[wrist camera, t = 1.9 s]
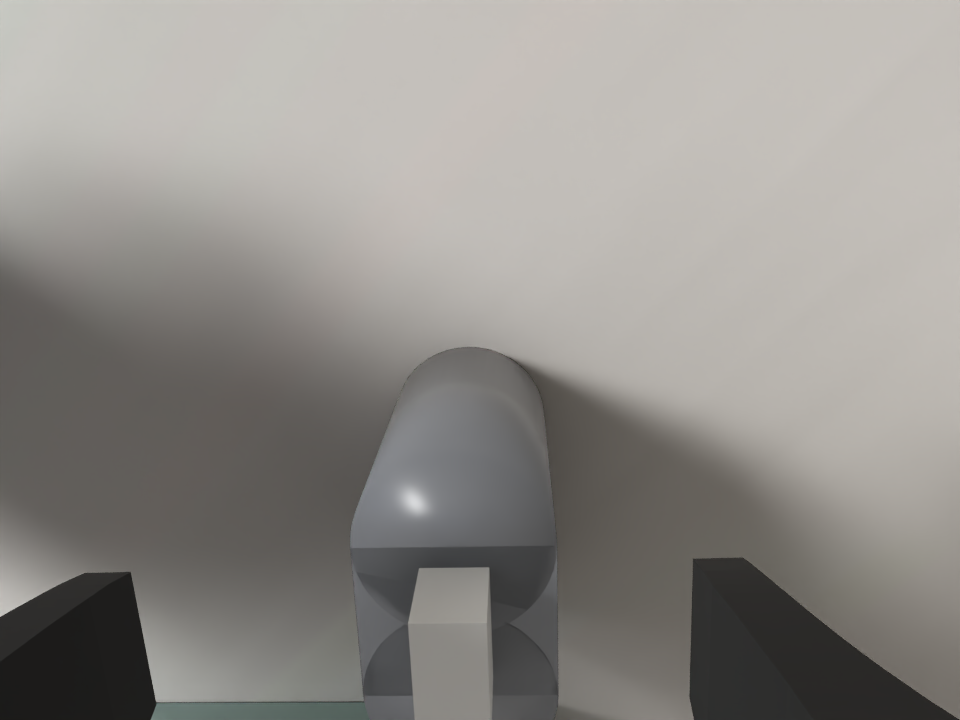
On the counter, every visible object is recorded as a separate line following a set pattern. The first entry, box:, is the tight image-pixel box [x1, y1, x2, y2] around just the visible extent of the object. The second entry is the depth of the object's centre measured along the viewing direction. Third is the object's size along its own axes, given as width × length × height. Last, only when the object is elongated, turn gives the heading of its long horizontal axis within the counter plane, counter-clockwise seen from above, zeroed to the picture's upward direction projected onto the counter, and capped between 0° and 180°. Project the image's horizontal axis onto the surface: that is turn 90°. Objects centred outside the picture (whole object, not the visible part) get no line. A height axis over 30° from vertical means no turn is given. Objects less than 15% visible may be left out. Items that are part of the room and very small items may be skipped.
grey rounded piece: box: [350, 347, 558, 720], centre depth 17 cm, size 4×6×8 cm, turn 2°
